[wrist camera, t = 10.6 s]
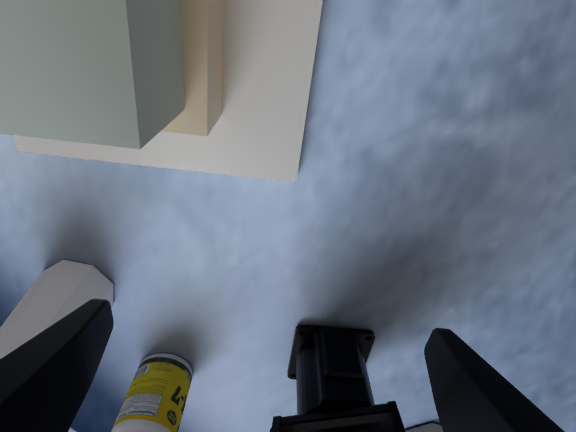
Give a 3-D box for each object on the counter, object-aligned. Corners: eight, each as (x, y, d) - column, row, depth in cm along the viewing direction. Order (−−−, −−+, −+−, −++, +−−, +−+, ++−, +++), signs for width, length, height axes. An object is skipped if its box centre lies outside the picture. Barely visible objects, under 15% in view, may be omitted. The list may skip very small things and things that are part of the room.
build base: (295, 175, 21) (298, 216, 17) (29, 146, 20) (-41, 180, 16) (339, -131, 14) (362, -194, 10) (-63, -199, 13) (-230, -302, 9)
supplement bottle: (195, 386, 32) (168, 494, 25) (144, 384, 32) (102, 492, 25) (191, 351, 30) (160, 460, 22) (136, 349, 29) (86, 459, 22)
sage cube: (184, 109, 14) (140, 149, 10) (61, 95, 14) (-39, 129, 10) (179, -36, 12) (119, -66, 8) (30, -58, 12) (-122, -103, 7)
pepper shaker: (62, 316, 27) (-57, 475, 18) (28, 262, 25) (-135, 416, 15) (127, 309, 27) (41, 467, 18) (99, 254, 24) (-21, 406, 15)
